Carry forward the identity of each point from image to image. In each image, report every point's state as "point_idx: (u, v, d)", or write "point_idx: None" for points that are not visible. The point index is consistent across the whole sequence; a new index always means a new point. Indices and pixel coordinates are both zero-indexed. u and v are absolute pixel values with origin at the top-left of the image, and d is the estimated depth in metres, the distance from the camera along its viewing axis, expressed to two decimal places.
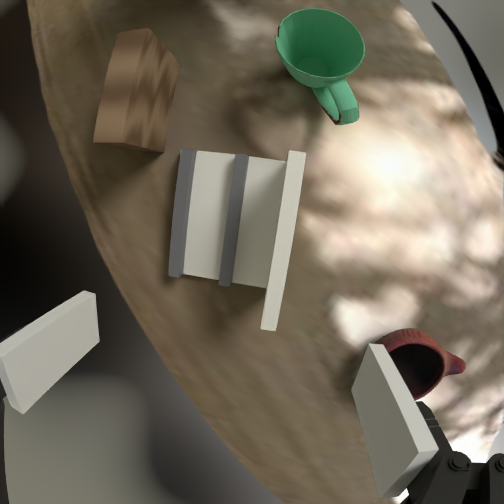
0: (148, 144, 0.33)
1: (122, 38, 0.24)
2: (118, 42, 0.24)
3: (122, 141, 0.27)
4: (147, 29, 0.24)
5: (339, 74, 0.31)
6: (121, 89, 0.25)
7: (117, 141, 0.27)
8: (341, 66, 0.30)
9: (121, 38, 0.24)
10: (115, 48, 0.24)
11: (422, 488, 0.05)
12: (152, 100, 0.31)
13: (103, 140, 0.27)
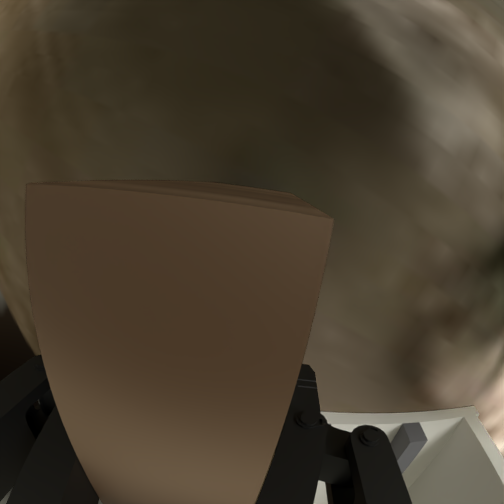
0: None
1: (62, 262, 0.03)
2: (48, 295, 0.03)
3: None
4: (323, 234, 0.03)
5: None
6: None
7: None
8: None
9: (58, 263, 0.03)
10: (47, 339, 0.04)
11: None
12: None
13: None
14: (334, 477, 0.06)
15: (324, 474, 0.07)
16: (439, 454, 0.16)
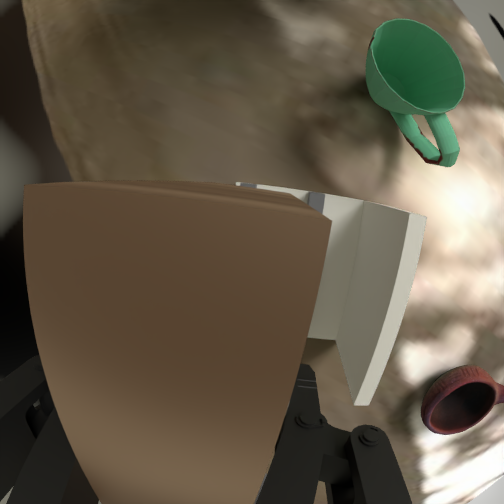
0: None
1: (59, 263, 0.03)
2: (46, 296, 0.03)
3: None
4: (321, 236, 0.03)
5: (423, 99, 0.24)
6: None
7: None
8: (425, 89, 0.24)
9: (55, 264, 0.03)
10: (46, 339, 0.04)
11: None
12: None
13: None
14: (333, 477, 0.06)
15: (324, 474, 0.06)
16: (358, 241, 0.31)
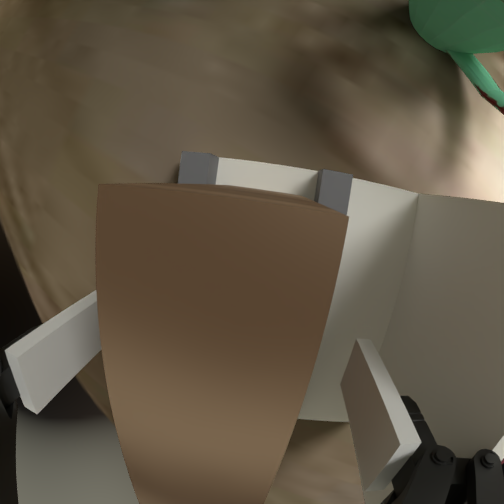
0: None
1: (134, 248, 0.04)
2: (116, 277, 0.05)
3: None
4: (341, 227, 0.04)
5: None
6: (217, 499, 0.06)
7: None
8: None
9: (129, 249, 0.04)
10: (109, 316, 0.05)
11: (406, 482, 0.05)
12: None
13: None
14: (452, 501, 0.04)
15: (445, 501, 0.05)
16: (406, 268, 0.16)
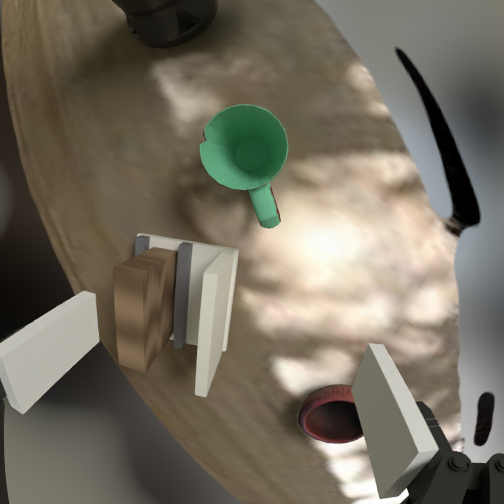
0: (162, 345, 0.41)
1: (119, 276, 0.32)
2: (116, 280, 0.32)
3: (145, 371, 0.34)
4: (143, 275, 0.31)
5: (273, 164, 0.37)
6: (133, 332, 0.33)
7: (141, 371, 0.34)
8: (275, 155, 0.36)
9: (118, 277, 0.32)
10: (115, 286, 0.32)
11: (422, 488, 0.05)
12: (159, 316, 0.38)
13: (128, 366, 0.34)
14: None
15: None
16: None
